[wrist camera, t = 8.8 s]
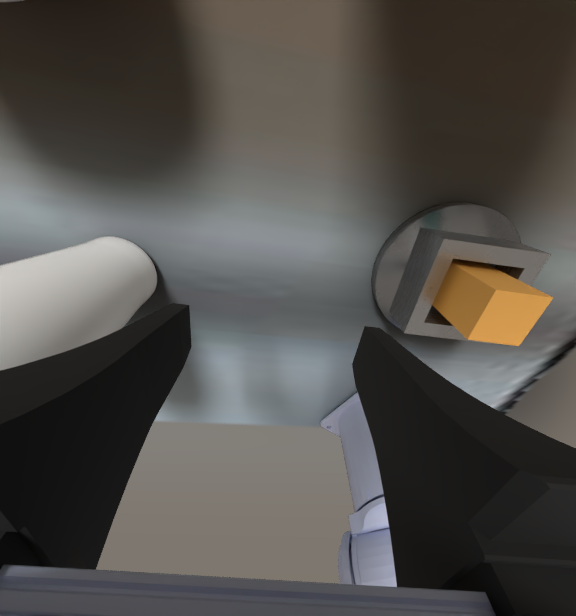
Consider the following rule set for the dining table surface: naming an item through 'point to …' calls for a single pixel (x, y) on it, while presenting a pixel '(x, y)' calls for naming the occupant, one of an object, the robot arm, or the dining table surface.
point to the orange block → (488, 303)
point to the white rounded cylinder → (70, 297)
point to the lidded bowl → (10, 0)
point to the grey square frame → (444, 262)
